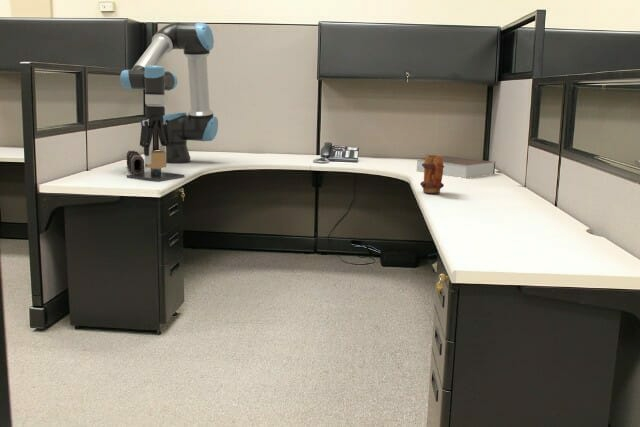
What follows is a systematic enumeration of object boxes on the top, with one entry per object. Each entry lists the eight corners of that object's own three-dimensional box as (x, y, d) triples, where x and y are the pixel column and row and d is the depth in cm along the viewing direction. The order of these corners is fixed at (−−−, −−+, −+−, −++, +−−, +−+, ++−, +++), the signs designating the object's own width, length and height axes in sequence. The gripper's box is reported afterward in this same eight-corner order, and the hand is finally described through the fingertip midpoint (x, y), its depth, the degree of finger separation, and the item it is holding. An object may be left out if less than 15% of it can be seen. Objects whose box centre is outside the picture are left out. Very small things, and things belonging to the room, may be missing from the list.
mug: (417, 190, 252) (420, 152, 249) (438, 191, 253) (441, 152, 250) (427, 197, 238) (429, 156, 235) (448, 198, 239) (451, 157, 236)
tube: (141, 172, 295) (149, 173, 267) (126, 176, 292) (133, 178, 265) (134, 149, 293) (142, 147, 265) (119, 152, 291) (126, 151, 263)
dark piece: (154, 173, 273) (153, 155, 272) (184, 177, 266) (184, 158, 265) (126, 177, 259) (126, 158, 258) (158, 181, 252) (157, 162, 251)
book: (444, 168, 327) (445, 155, 326) (494, 175, 308) (495, 162, 306) (415, 172, 310) (416, 158, 309) (465, 179, 291) (466, 165, 289)
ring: (154, 164, 267) (154, 150, 266) (170, 166, 263) (170, 151, 262) (141, 166, 260) (140, 151, 259) (156, 168, 256) (156, 153, 255)
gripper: (165, 104, 268) (165, 159, 272) (128, 105, 250) (130, 164, 254) (179, 105, 264) (179, 161, 269) (143, 106, 246) (144, 166, 251)
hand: (155, 162), depth 261 cm, fingers closed on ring, 8 cm apart
